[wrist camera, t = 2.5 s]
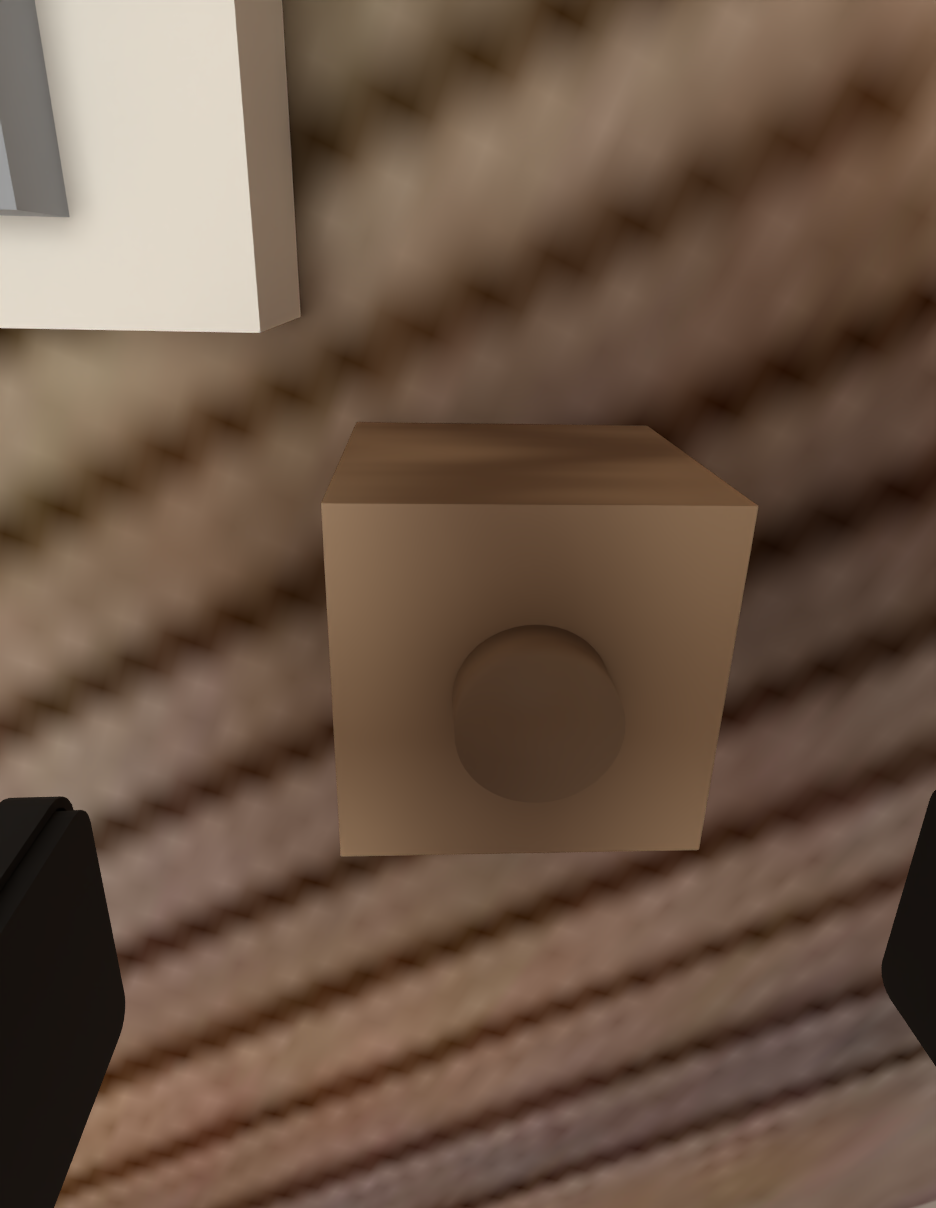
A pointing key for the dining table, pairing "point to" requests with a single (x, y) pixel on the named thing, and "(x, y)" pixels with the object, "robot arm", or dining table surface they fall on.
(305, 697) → the dining table surface
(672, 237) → the dining table surface
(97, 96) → the base plate
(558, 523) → the walnut block
